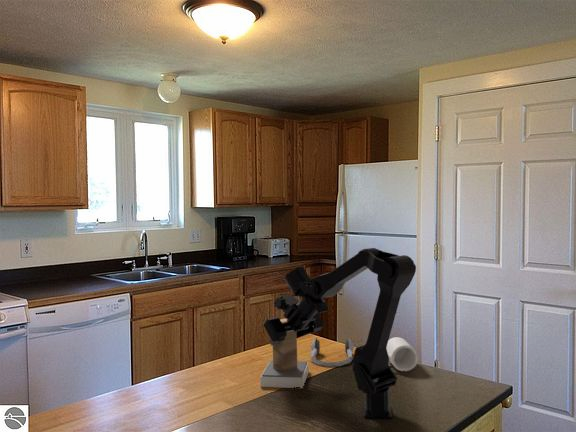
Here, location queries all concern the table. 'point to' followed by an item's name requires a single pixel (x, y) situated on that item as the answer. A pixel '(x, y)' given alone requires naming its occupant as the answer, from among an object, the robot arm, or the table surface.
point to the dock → (284, 376)
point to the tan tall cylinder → (286, 353)
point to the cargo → (283, 321)
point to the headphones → (316, 349)
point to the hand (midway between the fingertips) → (281, 341)
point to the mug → (401, 354)
